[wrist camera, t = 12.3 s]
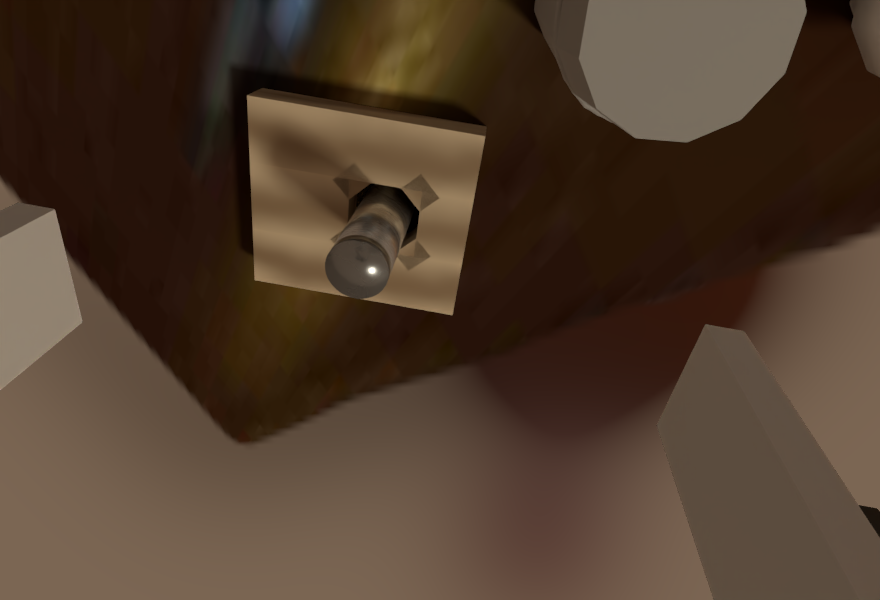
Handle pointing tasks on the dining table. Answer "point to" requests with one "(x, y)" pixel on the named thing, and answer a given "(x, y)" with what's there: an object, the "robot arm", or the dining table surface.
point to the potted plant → (867, 32)
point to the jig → (358, 190)
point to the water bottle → (671, 59)
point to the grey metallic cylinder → (370, 243)
